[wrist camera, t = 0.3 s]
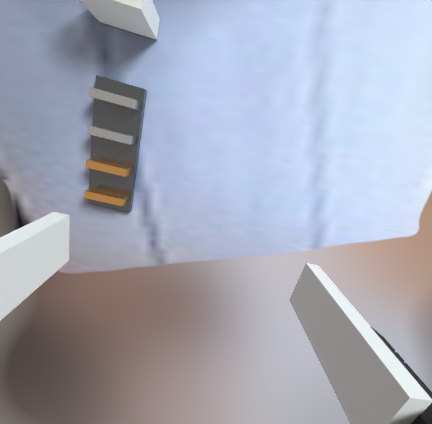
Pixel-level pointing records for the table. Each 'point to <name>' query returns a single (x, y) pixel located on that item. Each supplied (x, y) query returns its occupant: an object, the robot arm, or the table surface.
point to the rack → (115, 143)
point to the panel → (126, 15)
